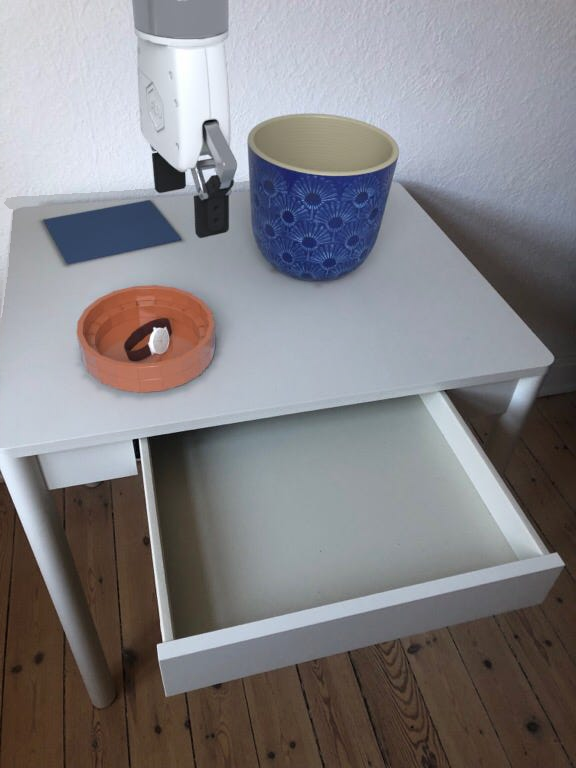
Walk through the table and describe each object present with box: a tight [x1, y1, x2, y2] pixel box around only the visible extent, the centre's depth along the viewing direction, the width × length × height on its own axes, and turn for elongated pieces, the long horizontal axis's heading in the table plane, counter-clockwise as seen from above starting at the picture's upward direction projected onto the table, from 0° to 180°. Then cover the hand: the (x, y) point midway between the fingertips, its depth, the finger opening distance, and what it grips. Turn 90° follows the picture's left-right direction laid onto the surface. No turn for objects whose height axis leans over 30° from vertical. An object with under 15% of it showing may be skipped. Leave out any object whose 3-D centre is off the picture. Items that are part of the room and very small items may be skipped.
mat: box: [43, 199, 182, 265], centre depth 102 cm, size 18×14×1 cm
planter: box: [246, 112, 400, 282], centre depth 93 cm, size 21×21×19 cm
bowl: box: [76, 284, 216, 393], centre depth 79 cm, size 16×16×4 cm
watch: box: [124, 318, 172, 361], centre depth 79 cm, size 8×5×4 cm, turn 154°
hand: (190, 210), depth 62 cm, fingers open, 9 cm apart
